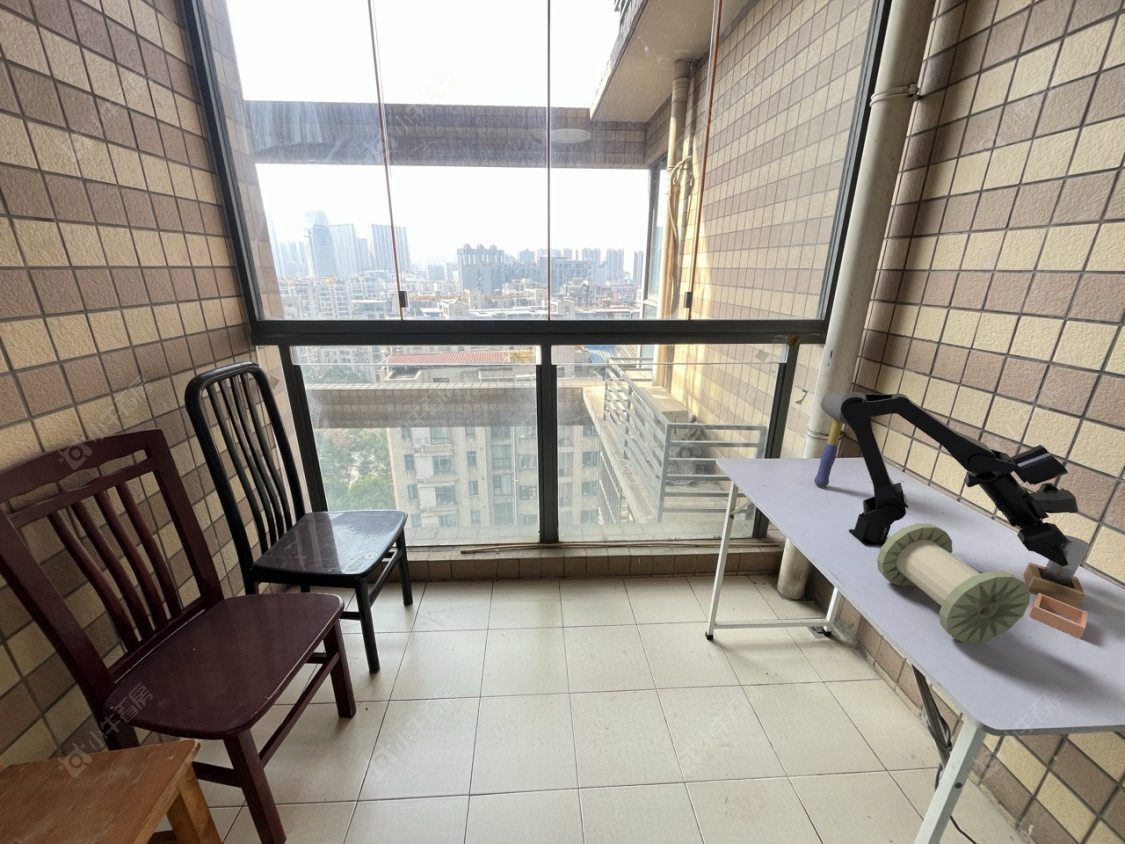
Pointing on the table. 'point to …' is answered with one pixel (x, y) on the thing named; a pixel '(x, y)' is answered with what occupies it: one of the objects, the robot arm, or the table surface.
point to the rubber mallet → (830, 437)
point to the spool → (953, 583)
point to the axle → (1074, 556)
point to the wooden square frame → (1053, 586)
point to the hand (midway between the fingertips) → (1056, 553)
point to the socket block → (1056, 620)
